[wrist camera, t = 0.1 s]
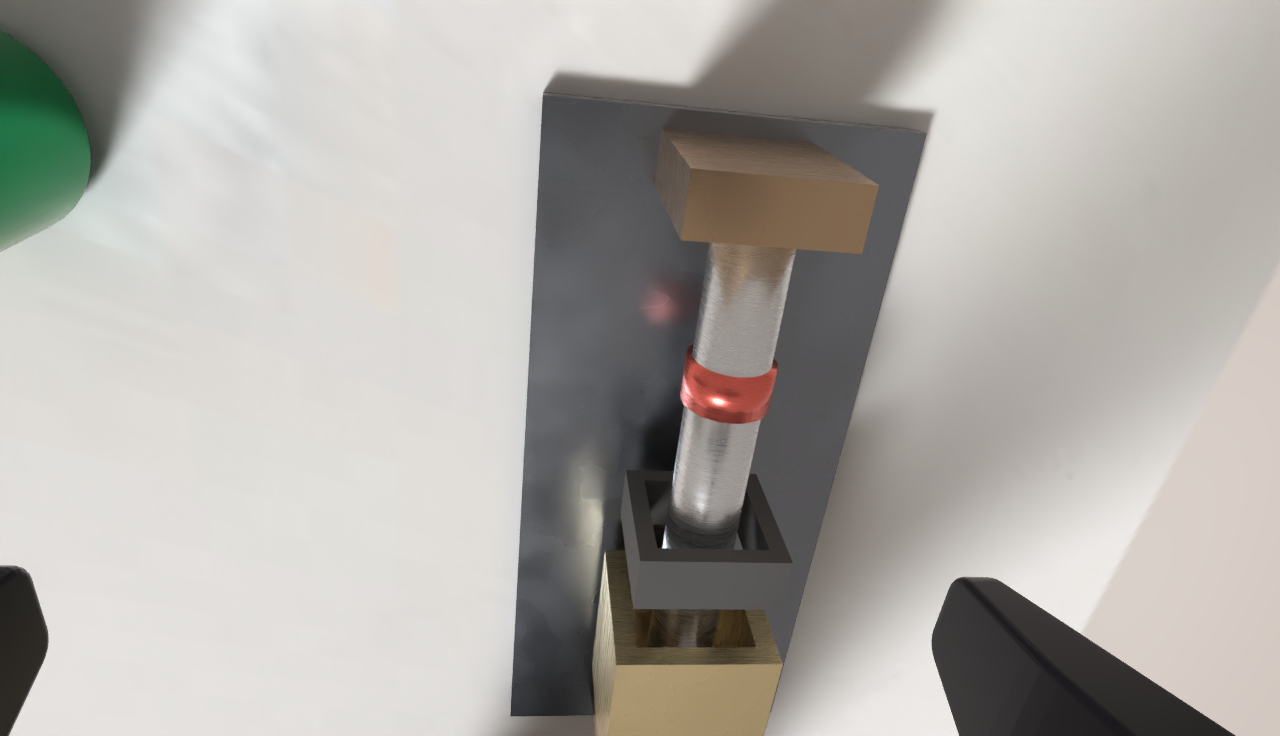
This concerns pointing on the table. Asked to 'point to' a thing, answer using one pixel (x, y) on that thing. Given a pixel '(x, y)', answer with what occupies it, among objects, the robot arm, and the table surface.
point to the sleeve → (678, 671)
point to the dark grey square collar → (701, 554)
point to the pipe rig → (689, 348)
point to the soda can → (37, 145)
